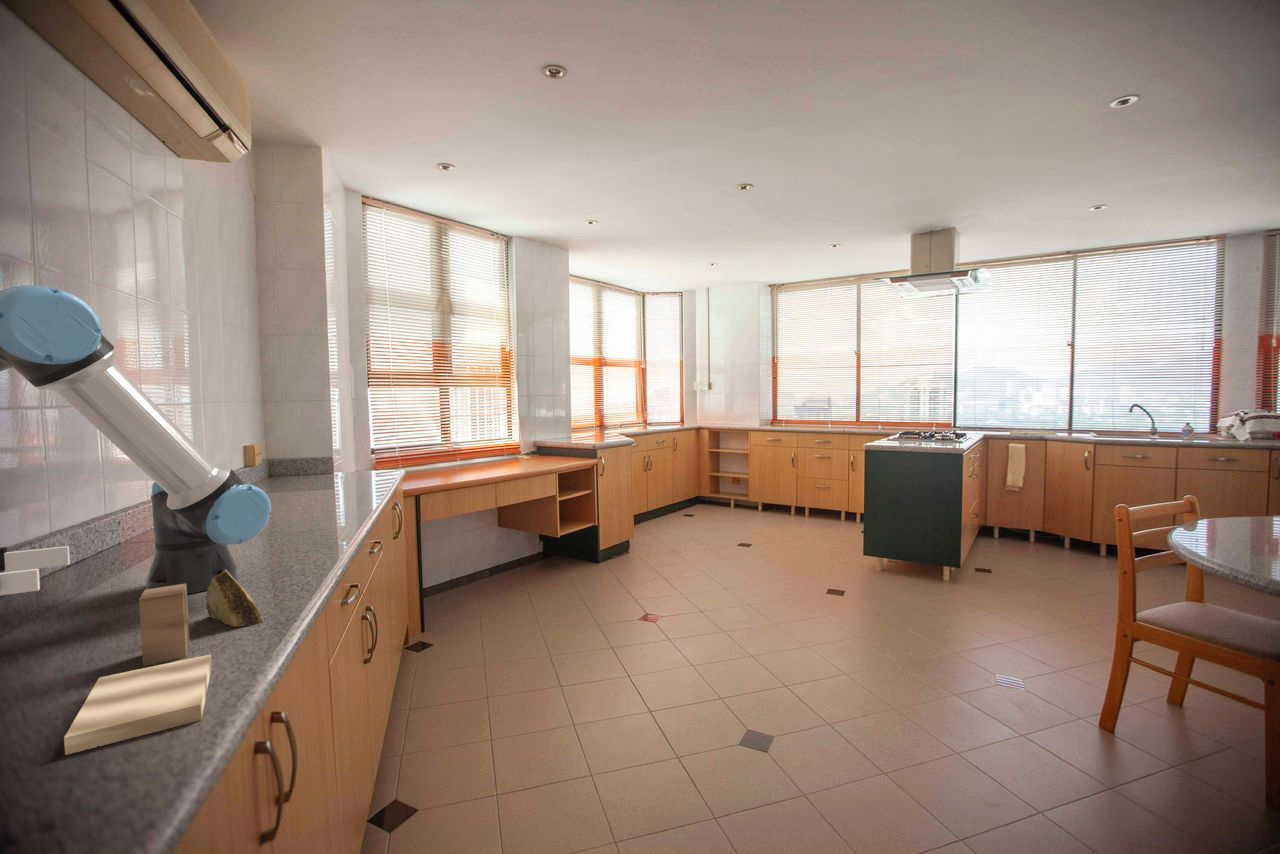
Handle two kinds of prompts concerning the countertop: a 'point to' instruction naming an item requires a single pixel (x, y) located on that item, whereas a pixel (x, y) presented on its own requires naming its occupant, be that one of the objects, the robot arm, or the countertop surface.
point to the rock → (231, 602)
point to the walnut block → (164, 624)
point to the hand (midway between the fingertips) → (55, 566)
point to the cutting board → (140, 703)
